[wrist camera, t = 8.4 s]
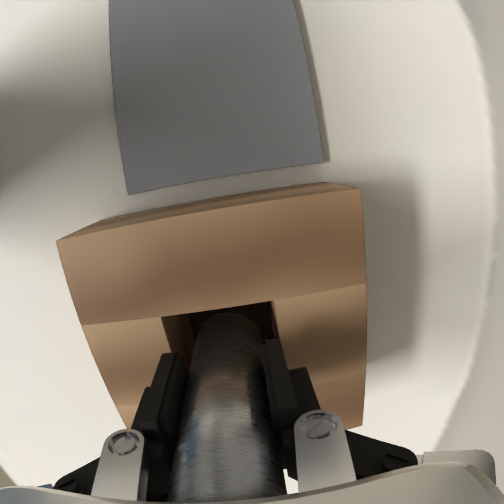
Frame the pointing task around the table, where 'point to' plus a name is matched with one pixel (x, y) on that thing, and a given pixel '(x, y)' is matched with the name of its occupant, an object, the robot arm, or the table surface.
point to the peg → (226, 419)
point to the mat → (209, 90)
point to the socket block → (227, 285)
